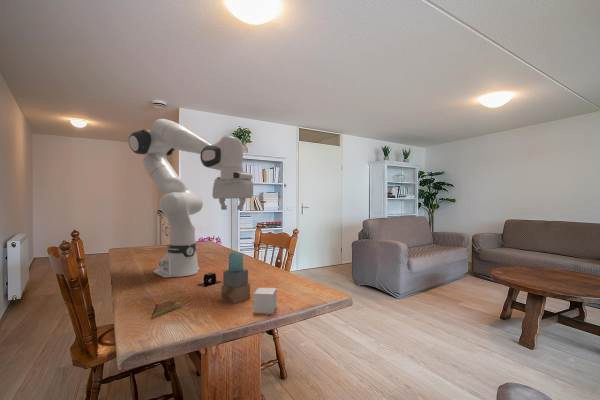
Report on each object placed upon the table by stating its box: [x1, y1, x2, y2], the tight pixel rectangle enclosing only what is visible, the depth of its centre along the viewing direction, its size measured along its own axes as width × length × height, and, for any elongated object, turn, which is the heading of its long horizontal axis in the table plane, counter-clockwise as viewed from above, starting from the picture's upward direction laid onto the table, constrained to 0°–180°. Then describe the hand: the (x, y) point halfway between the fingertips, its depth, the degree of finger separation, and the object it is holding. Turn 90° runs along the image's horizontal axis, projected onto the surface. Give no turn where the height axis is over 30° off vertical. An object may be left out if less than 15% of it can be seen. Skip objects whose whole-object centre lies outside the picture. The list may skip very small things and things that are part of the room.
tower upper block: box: [222, 268, 249, 288], centre depth 97 cm, size 6×6×5 cm
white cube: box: [253, 287, 277, 315], centre depth 87 cm, size 6×6×6 cm
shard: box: [151, 299, 183, 319], centre depth 87 cm, size 11×8×2 cm
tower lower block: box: [220, 282, 251, 304], centre depth 97 cm, size 7×7×5 cm
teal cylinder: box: [228, 251, 244, 272], centre depth 97 cm, size 5×5×6 cm
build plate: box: [197, 272, 223, 288], centre depth 116 cm, size 12×7×5 cm, turn 147°
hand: (231, 209), depth 111 cm, fingers open, 8 cm apart
